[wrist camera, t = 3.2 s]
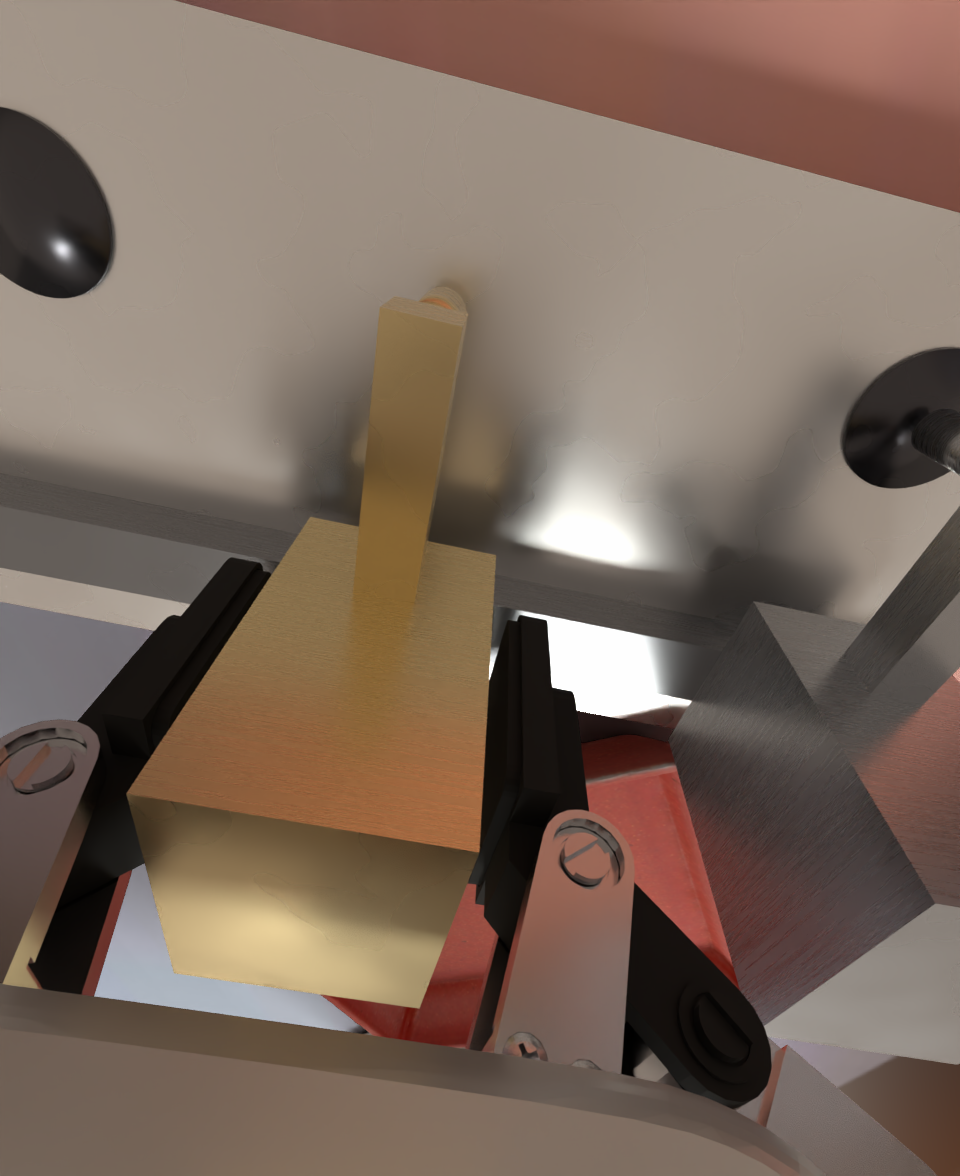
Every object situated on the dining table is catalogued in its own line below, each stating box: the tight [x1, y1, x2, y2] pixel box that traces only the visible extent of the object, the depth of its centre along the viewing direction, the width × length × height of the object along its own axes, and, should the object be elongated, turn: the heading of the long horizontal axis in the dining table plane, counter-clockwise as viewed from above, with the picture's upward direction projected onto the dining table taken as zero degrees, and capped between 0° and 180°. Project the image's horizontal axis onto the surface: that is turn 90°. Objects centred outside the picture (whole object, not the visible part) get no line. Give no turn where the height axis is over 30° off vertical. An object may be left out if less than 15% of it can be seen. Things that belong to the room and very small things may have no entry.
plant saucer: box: [320, 735, 740, 1048], centre depth 22 cm, size 18×18×3 cm
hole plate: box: [0, 0, 960, 1064], centre depth 9 cm, size 12×26×9 cm, turn 78°
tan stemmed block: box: [126, 286, 496, 1009], centre depth 9 cm, size 9×4×7 cm, turn 168°
